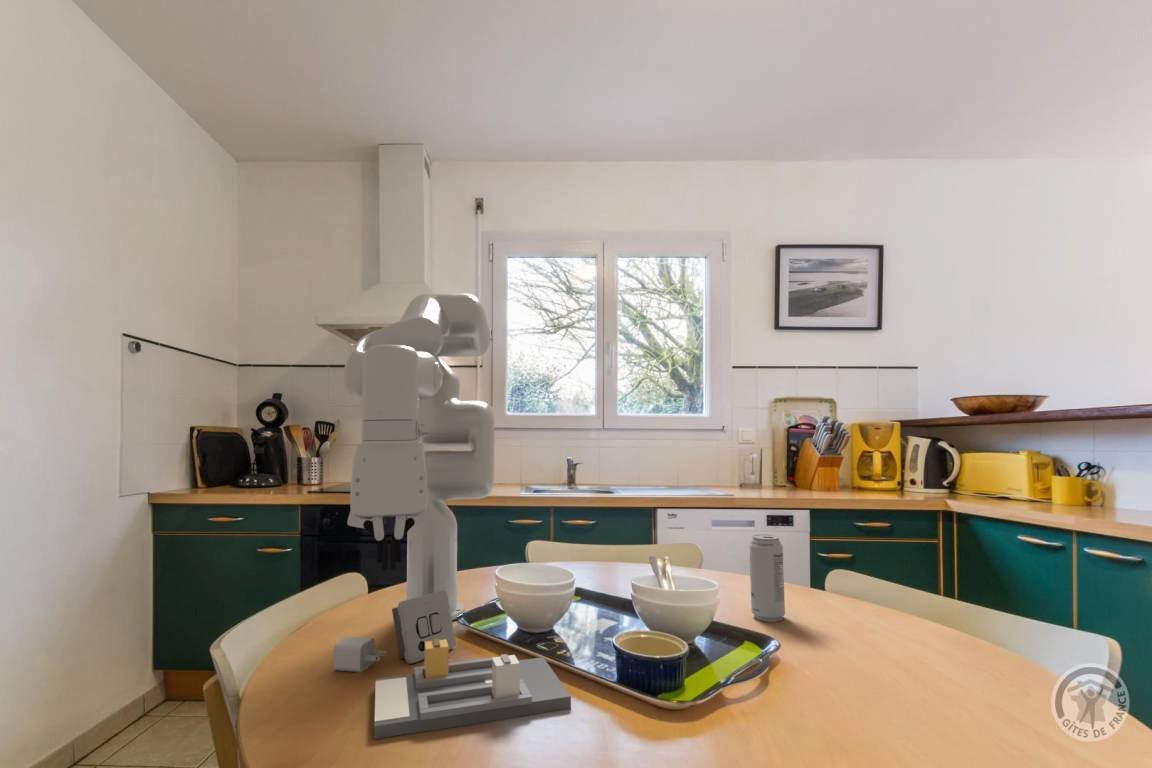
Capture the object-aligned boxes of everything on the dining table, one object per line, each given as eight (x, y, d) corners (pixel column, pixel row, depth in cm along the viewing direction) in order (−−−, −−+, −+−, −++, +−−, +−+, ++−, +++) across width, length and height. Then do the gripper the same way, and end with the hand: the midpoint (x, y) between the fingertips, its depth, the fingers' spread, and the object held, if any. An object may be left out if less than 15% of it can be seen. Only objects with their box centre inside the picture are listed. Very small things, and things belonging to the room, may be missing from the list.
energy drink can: (757, 610, 117) (755, 532, 119) (789, 616, 114) (786, 535, 115) (747, 619, 113) (744, 537, 114) (779, 624, 109) (776, 540, 110)
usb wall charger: (348, 661, 94) (349, 635, 94) (389, 664, 93) (389, 638, 93) (333, 671, 90) (334, 644, 90) (375, 675, 89) (376, 647, 89)
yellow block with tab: (424, 674, 85) (424, 639, 85) (446, 671, 86) (446, 637, 86) (425, 683, 82) (426, 646, 82) (448, 680, 83) (448, 644, 83)
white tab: (492, 693, 78) (492, 655, 79) (514, 689, 79) (514, 652, 80) (496, 703, 76) (496, 663, 76) (519, 699, 77) (519, 660, 77)
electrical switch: (409, 666, 92) (406, 603, 93) (389, 662, 95) (386, 601, 96) (457, 648, 99) (454, 590, 100) (437, 645, 102) (434, 588, 104)
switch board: (375, 689, 84) (375, 672, 84) (542, 666, 91) (542, 651, 91) (374, 740, 70) (374, 720, 70) (571, 709, 77) (571, 690, 77)
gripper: (442, 433, 90) (441, 558, 89) (334, 434, 85) (331, 566, 84) (447, 433, 83) (447, 569, 81) (330, 434, 78) (327, 579, 77)
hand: (388, 567), depth 83 cm, fingers closed
